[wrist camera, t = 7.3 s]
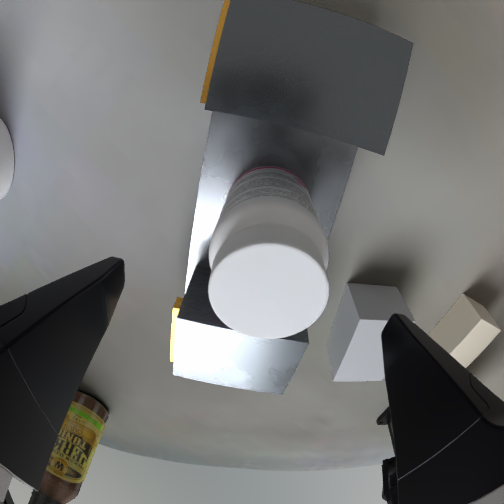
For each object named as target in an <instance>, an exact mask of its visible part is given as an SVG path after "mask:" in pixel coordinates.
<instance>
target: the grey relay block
mask: <svg viewBox="0 0 504 504" xmlns="http://www.w3.org/2000/svg"><path fill="white" fill-rule="evenodd" d="M394 313H398V314H403V315H405V316H406V317H408V318H409V319H410V320H411V321H412V322H413V323H415V320H414V318H413V316H412V314H411V312H410V310H409V308H408V307H407V305H406V303H405V301H404V299H403V297H402V296H401V294H400V292H399V290H398V288H397V287H392V286H380V285H368V284H357V283H347V284H346V287H345V290H344V293H343V297H342V300H341V303H340V306H339V309H338V312H337V315H336V318H335V321H334V323H333V326H332V329H331V332H330V335H329V338H328V340H327V343H326V345H327V350H328V356H329V361H330V367H331V373H332V379H333V381H382V380H383V378H384V377H385V374H384V364H383V352H382V341H381V333H382V330H383V328H384V327H385V325H386V323H387V322H388V320H389V318H390V317H391V315H392V314H394Z"/></svg>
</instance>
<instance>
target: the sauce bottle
mask: <svg viewBox="0 0 504 504" xmlns="http://www.w3.org/2000/svg"><path fill="white" fill-rule="evenodd" d="M107 419H108V412H107V410H106V409H105V407H104V406H103V405H102V404H100V403H99V402H98V401H97V400H95V399H94V398H92V397H91V396H89V395H86V394H84V393H82V392H79V391H77V392H76V394H75V396H74V399H73V401H72V403H71V406H70V408H69V410H68V413H67V415H66V418H65V420H64V422H63V425H62V427H61V430H60V432H59V434H58V438H57V441H56V443H55V446H54V448H53V451H52V454H51V457H50V459H49V462H48V465H47V468H46V471H45V474H44V477H43V480H42V483H41V486H40V489H39V491H36V490H34V489H33V492H32V496H31V498H30V501H29V503H28V504H66V503H67V502H69V501H71V500H72V499H74V498H75V497H76V496H77V495H78V493H79V491H80V487H81V484H82V482H83V481H84V479H85V476H86V474H87V471H88V468H89V466H90V463H91V461H92V458H93V455H94V453H95V450H96V448H97V445H98V443H99V440H100V438H101V436H102V433H103V431H104V428H105V423H106V421H107Z"/></svg>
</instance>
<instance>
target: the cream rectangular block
mask: <svg viewBox="0 0 504 504" xmlns="http://www.w3.org/2000/svg"><path fill="white" fill-rule="evenodd" d="M500 331H501V329H500V328H499V326H498V325H497V324H496V322H495V321H494V319H493V318H492V317H491V315H490V314H489V312H488V311H487V310H486V308H485V307H484V306H482V305H481V304H479V303H478V302H476V301H475V300H473V299H471V298H470V297H468V296H466V295H465V294H462V295H461V296H460V298H459V299H458V300H457V301H456V303H455V304H454V305H453V306H452V308H451V309H450V310H449V311H448V312H447V314H446V315H445V316H444V317H443V318H442V320H441V321H440V322H439V323H438V324H437V325H436V326H435V328H434V329H433V330H432V331H431V332H430V333H429V334H428V335H429V336H430V337H431V338H432V339H433V340H434V341H435V342H437V343H438V344H439V345H440V346H441V347H442V348H443V349H445V350H446V351H447V352H448V353H449V354H450V355H451V356H452V357H454V358H455V359H456V360H457V361H458V362H459V363H460V364H461V365H462V366H463V367H465V368H467V367H468V366H469V365H470V364H471V363H472V362H473V361H474V359H475V358H476V357H477V356H478V355H479V354H480V353H481V352H482V351H483V350H484V349H485V348H486V347H487V346H488V345H489V344H490V342H491V341H492V340H493V339H494V338H495V337H496V336H497V334H498V333H499V332H500Z"/></svg>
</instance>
